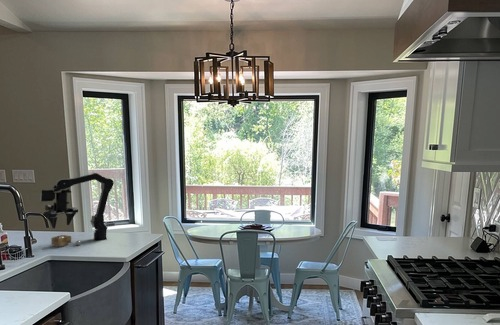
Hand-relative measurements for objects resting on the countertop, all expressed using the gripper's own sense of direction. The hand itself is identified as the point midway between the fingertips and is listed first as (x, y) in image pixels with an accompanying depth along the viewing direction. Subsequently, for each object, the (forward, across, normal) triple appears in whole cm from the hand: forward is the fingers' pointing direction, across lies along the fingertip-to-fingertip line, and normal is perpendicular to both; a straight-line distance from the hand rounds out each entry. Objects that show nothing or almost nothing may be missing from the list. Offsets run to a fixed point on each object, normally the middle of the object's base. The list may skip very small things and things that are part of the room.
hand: (61, 226), depth 173 cm
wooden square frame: (+10, 0, 0) cm, 10 cm away
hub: (+11, 0, 0) cm, 11 cm away
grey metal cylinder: (+11, -4, +9) cm, 15 cm away
